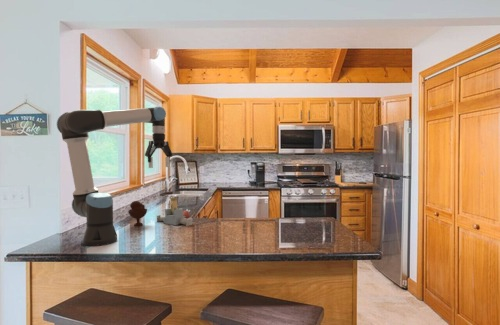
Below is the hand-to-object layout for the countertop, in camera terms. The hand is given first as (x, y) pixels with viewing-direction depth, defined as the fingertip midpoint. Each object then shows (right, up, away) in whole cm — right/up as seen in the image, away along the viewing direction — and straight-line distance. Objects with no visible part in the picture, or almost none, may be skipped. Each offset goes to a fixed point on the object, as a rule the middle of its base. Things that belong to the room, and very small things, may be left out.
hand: (159, 167), depth 189 cm
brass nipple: (+9, -31, 0) cm, 32 cm away
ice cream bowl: (-11, -35, -5) cm, 37 cm away
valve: (+11, -35, +3) cm, 36 cm away
